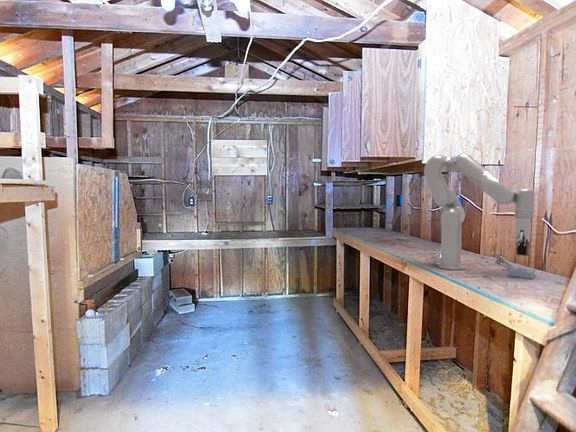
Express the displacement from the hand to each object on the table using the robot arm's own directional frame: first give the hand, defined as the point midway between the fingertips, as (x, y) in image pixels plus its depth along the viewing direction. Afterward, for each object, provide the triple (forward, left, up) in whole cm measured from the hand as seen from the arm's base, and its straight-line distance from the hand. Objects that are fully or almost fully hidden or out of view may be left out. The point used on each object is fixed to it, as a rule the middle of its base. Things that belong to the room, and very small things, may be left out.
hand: (523, 253), depth 164 cm
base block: (0, 0, -11) cm, 11 cm away
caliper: (-9, +18, -11) cm, 23 cm away
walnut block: (0, 0, -1) cm, 1 cm away
